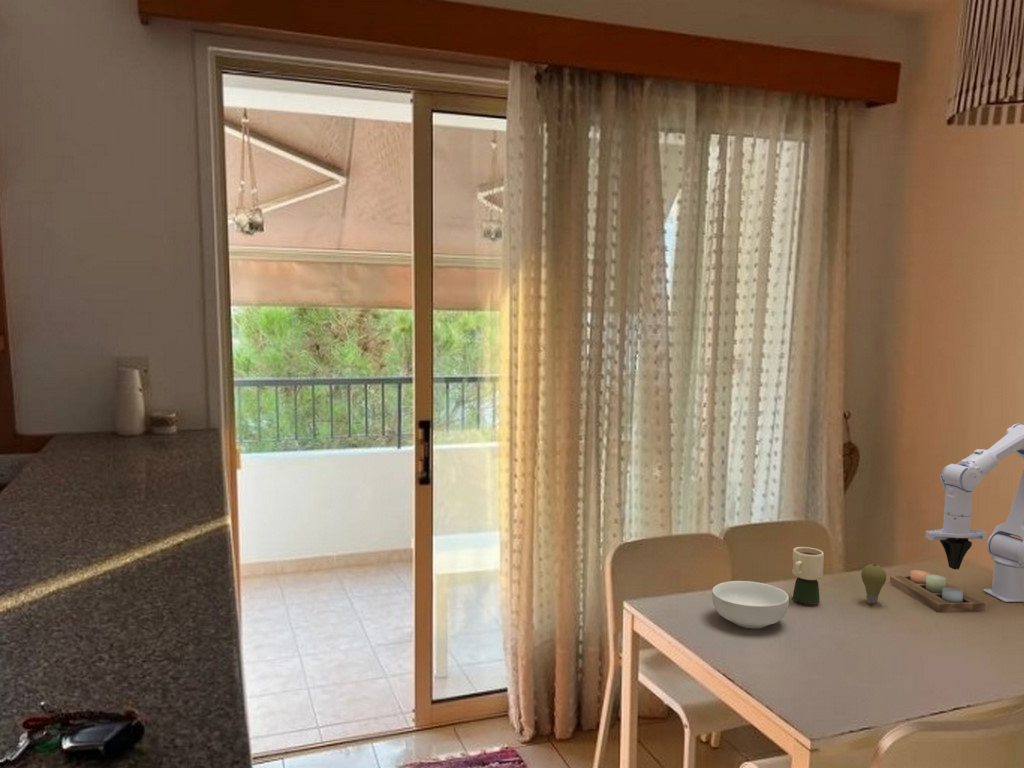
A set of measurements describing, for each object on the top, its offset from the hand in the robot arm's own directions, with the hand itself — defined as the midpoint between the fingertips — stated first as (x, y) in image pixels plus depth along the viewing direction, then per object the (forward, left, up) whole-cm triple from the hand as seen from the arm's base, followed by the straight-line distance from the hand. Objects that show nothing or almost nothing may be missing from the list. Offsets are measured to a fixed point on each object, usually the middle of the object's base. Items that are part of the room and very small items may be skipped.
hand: (953, 568), depth 187 cm
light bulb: (+20, -2, -10) cm, 22 cm away
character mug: (+36, -4, -10) cm, 37 cm away
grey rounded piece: (+1, +1, -9) cm, 9 cm away
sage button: (+1, -6, -8) cm, 10 cm away
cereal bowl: (+55, +7, -10) cm, 56 cm away
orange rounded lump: (+1, -12, -9) cm, 15 cm away
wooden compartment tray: (+1, -6, -9) cm, 11 cm away
